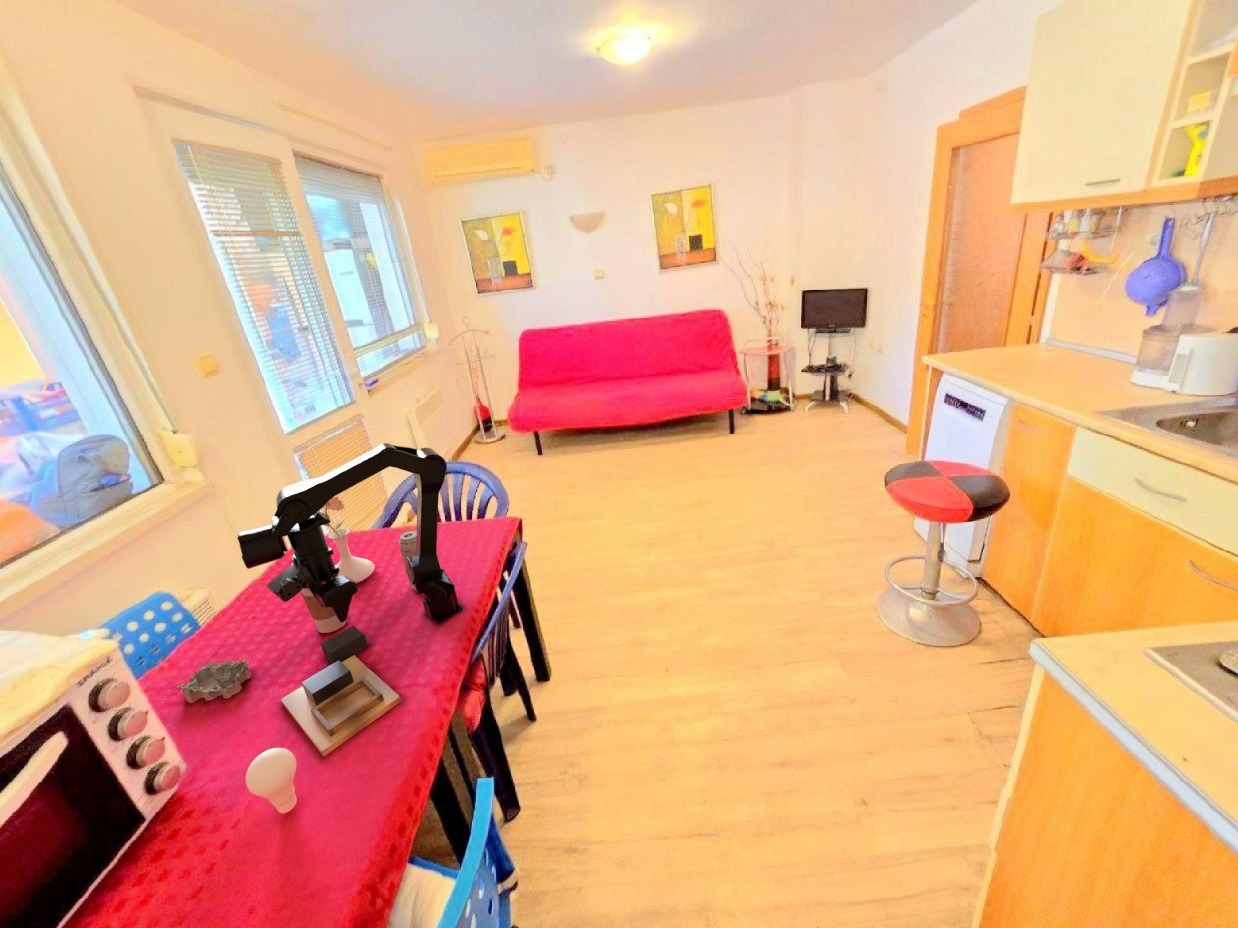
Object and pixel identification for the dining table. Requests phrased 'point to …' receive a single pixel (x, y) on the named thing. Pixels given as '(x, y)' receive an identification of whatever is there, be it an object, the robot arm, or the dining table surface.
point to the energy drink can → (408, 547)
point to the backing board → (339, 703)
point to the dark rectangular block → (344, 645)
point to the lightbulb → (274, 778)
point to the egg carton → (216, 680)
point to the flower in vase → (347, 549)
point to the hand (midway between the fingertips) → (333, 613)
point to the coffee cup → (321, 612)
